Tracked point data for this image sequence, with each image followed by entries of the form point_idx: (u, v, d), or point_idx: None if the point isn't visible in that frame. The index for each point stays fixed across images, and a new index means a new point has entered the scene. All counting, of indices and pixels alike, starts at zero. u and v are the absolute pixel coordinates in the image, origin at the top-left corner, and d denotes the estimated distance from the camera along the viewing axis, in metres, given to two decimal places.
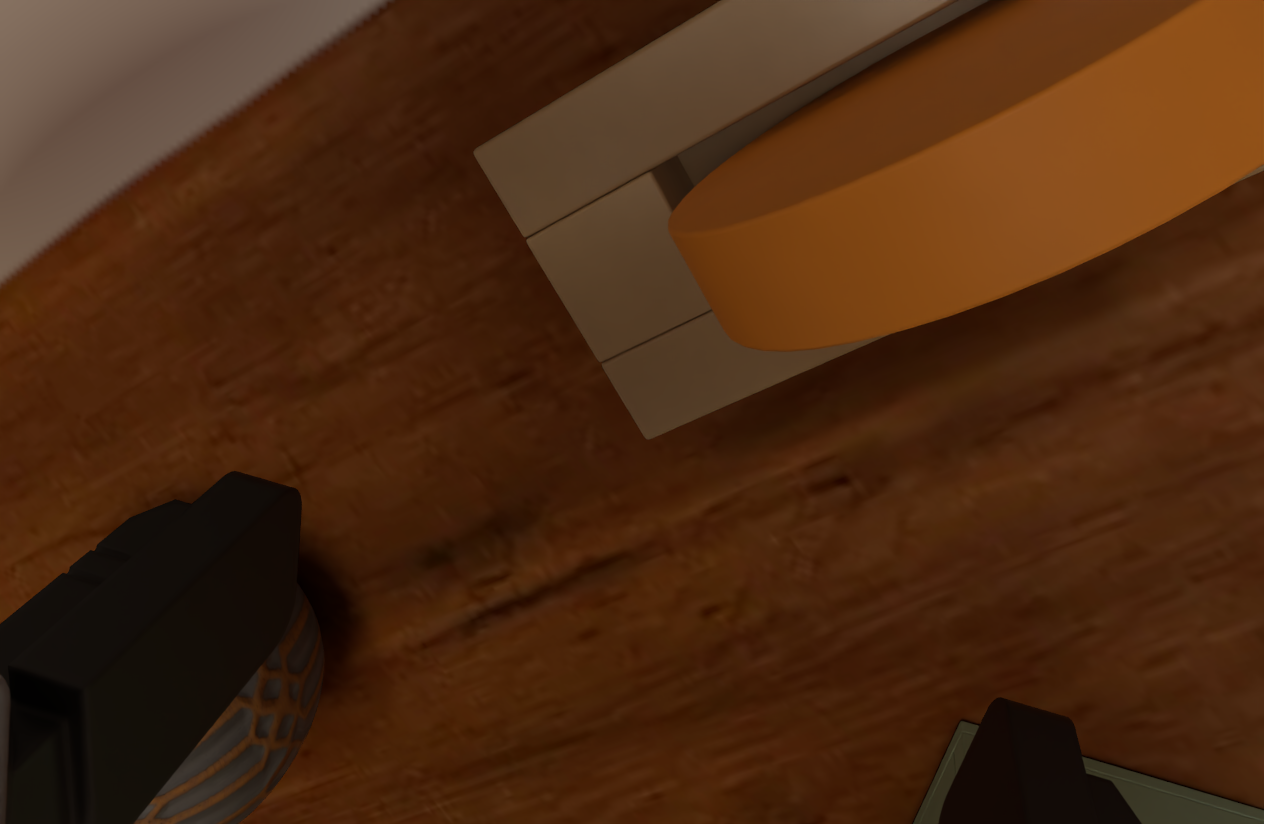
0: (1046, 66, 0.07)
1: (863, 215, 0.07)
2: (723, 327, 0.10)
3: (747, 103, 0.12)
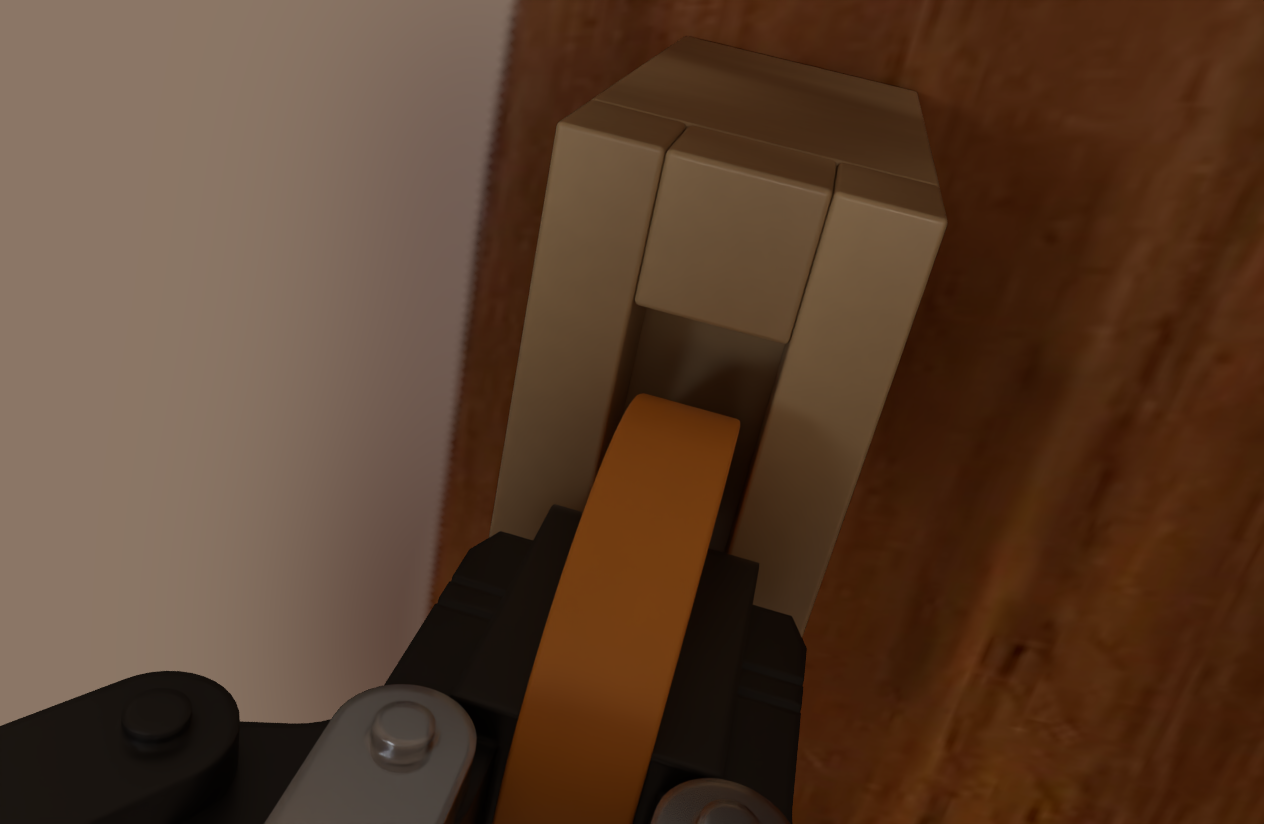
0: None
1: None
2: None
3: None
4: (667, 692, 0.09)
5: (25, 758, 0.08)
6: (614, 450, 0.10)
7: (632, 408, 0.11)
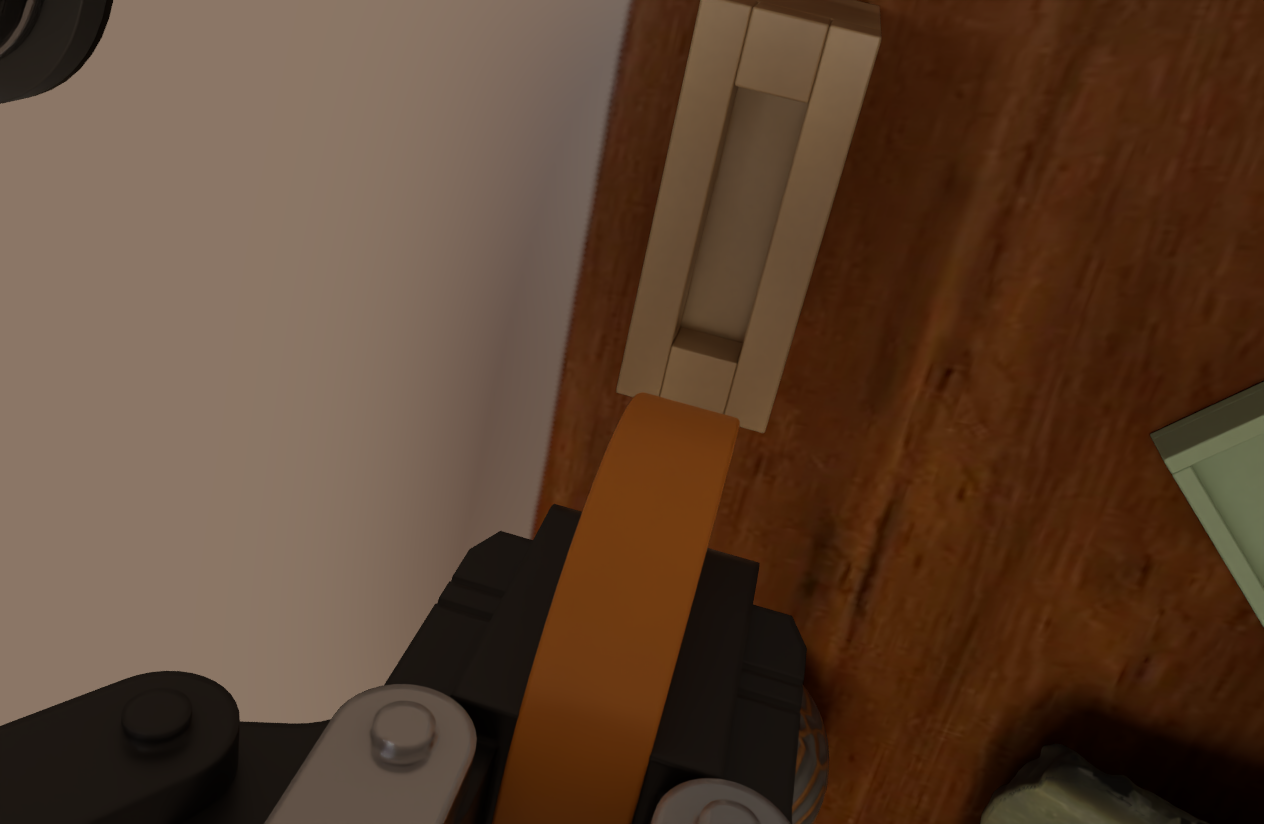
0: None
1: None
2: None
3: (677, 298, 0.27)
4: (666, 690, 0.09)
5: (25, 758, 0.08)
6: (613, 449, 0.10)
7: (631, 407, 0.11)
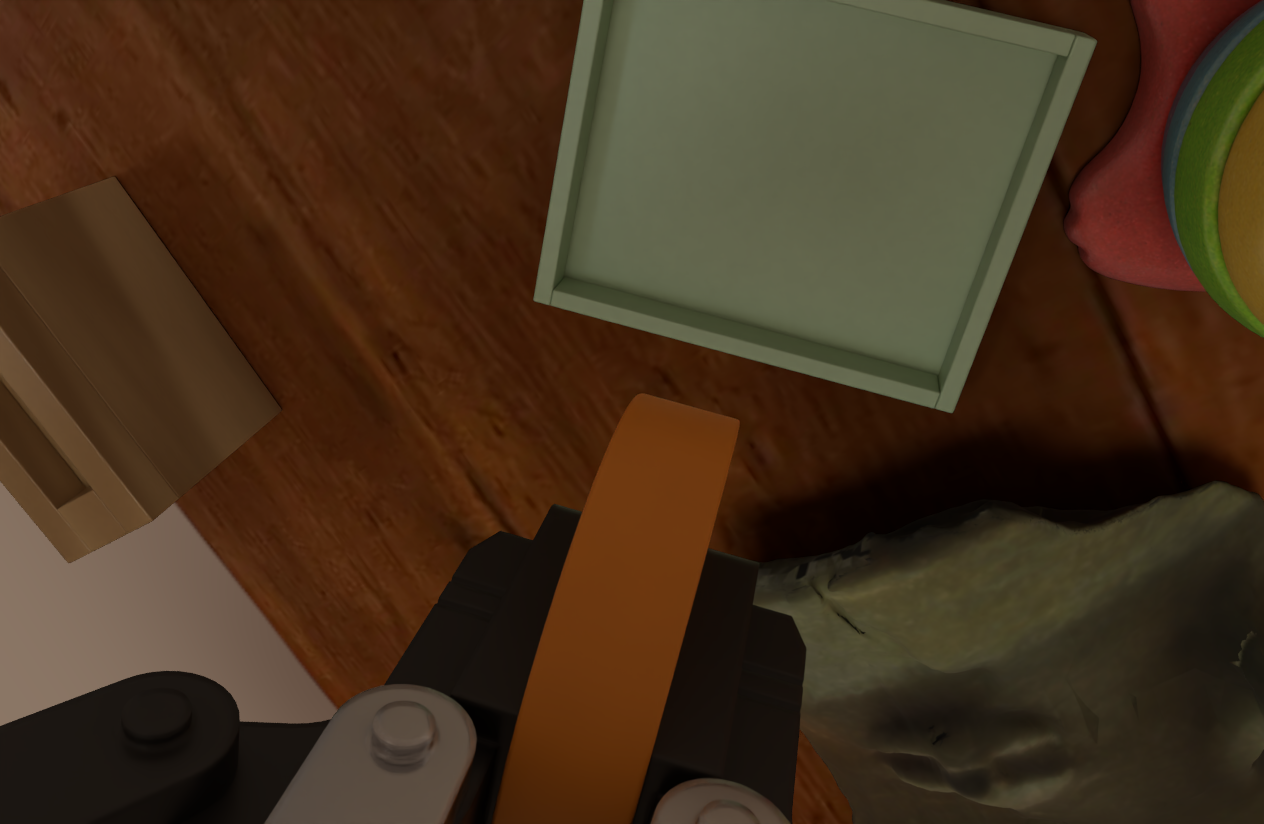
0: None
1: None
2: None
3: (27, 478, 0.34)
4: (666, 693, 0.09)
5: (25, 758, 0.08)
6: (613, 450, 0.10)
7: (631, 408, 0.11)
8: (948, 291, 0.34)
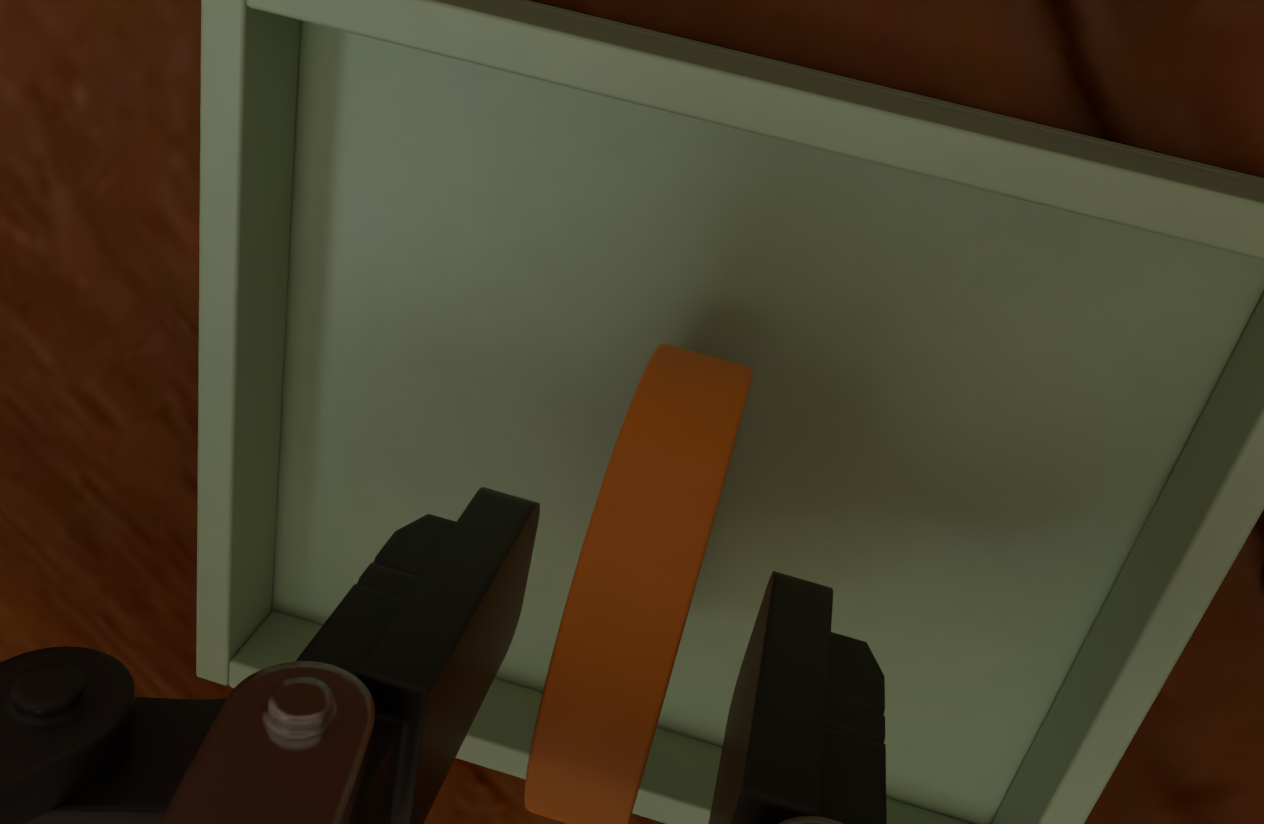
0: None
1: (545, 801, 0.12)
2: None
3: None
4: (692, 592, 0.10)
5: None
6: (643, 387, 0.12)
7: (657, 353, 0.12)
8: (1012, 690, 0.17)
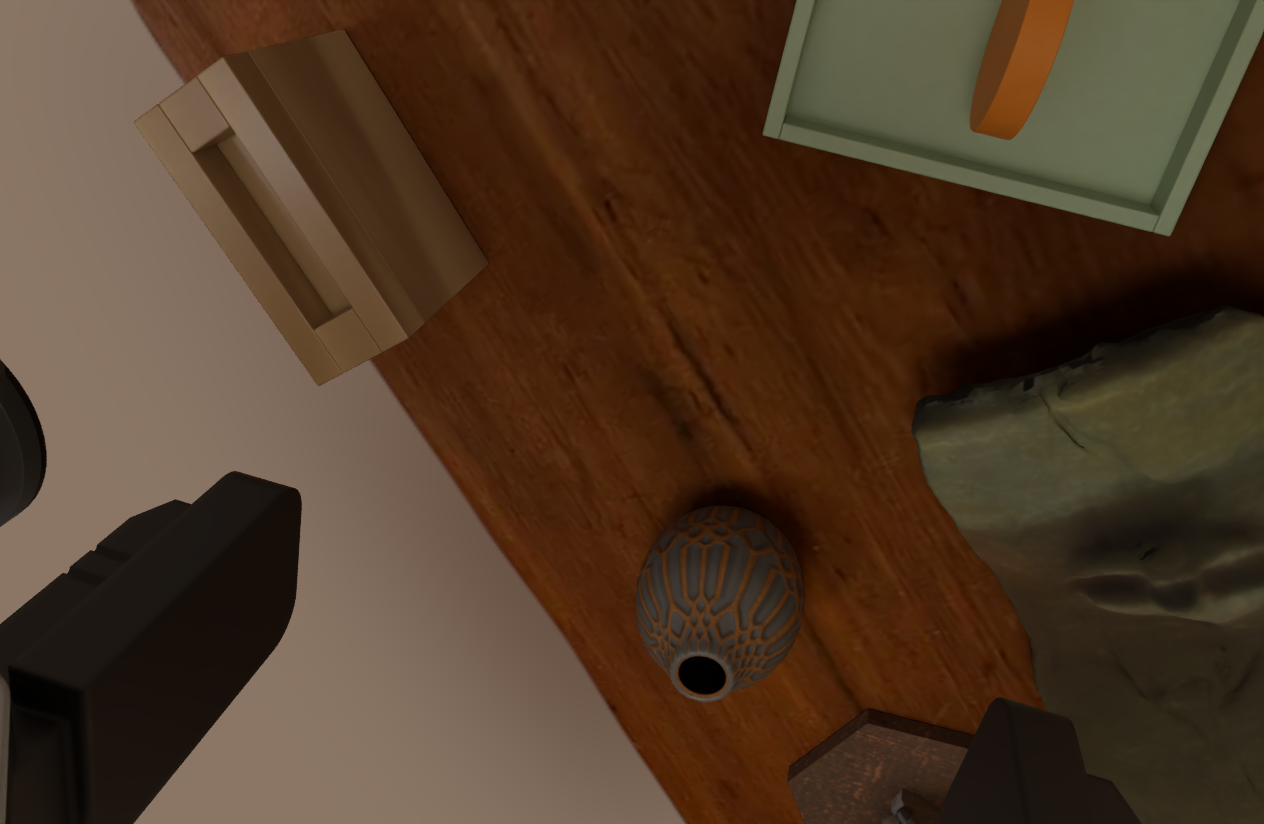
0: (1010, 46, 0.31)
1: (1000, 104, 0.31)
2: None
3: (287, 298, 0.36)
4: (1072, 5, 0.30)
5: None
6: None
7: None
8: (1167, 119, 0.35)
